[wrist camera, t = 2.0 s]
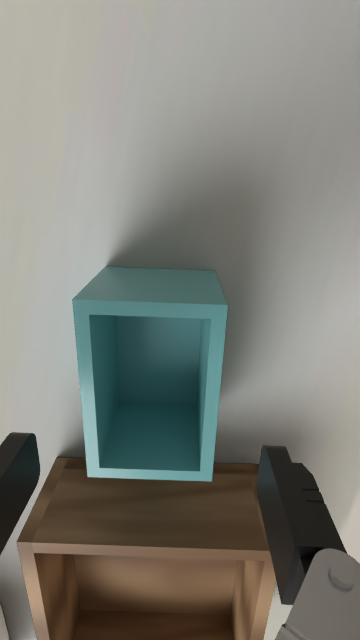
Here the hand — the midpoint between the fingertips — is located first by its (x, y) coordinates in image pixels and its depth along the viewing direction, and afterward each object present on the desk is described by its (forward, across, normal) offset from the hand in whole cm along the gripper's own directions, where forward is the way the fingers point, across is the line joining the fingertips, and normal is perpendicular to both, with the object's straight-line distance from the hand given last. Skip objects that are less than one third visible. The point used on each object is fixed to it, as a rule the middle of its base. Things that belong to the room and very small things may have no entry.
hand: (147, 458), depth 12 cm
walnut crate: (+9, 0, +17) cm, 19 cm away
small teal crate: (+9, 0, 0) cm, 9 cm away
